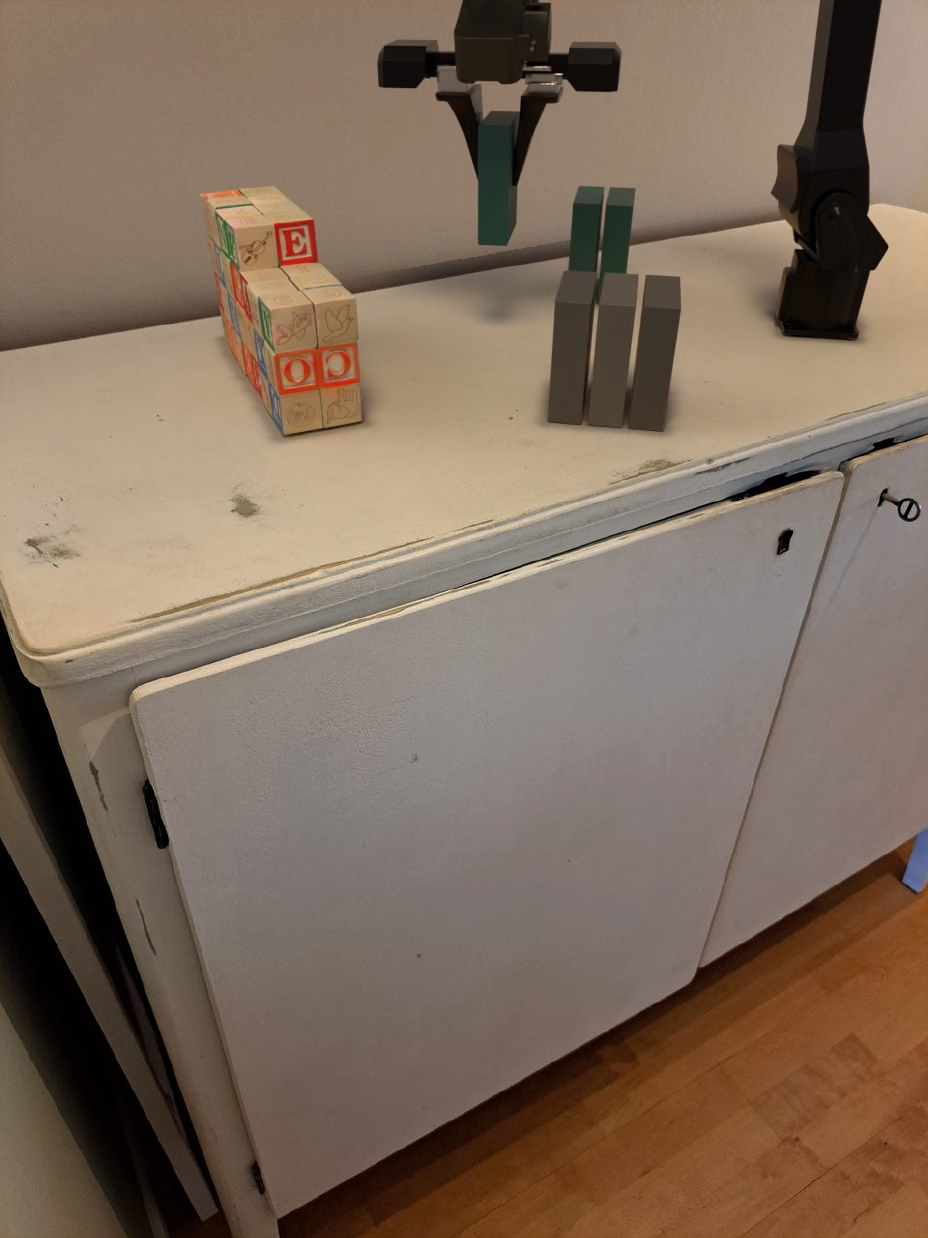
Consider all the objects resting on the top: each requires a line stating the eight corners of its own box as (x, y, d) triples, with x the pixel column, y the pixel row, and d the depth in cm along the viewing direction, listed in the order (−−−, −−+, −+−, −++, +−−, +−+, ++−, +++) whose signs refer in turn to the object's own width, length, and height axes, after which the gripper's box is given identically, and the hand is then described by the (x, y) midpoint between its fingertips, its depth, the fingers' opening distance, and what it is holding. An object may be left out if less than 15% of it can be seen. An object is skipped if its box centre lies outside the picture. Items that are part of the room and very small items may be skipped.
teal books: (625, 282, 93) (635, 187, 87) (622, 305, 88) (633, 205, 82) (572, 279, 94) (578, 185, 88) (566, 301, 88) (572, 203, 83)
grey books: (663, 392, 71) (680, 276, 66) (663, 431, 66) (681, 308, 61) (556, 384, 73) (564, 269, 67) (547, 422, 67) (554, 300, 62)
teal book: (516, 224, 81) (519, 110, 76) (507, 246, 76) (509, 125, 70) (489, 223, 82) (490, 110, 76) (477, 245, 76) (478, 125, 71)
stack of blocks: (365, 423, 67) (353, 250, 59) (282, 438, 65) (259, 262, 57) (291, 328, 82) (274, 182, 75) (223, 338, 81) (198, 189, 73)
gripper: (352, -41, 62) (368, 204, 71) (627, -41, 59) (606, 212, 69) (388, -46, 70) (398, 172, 80) (630, -47, 68) (610, 179, 77)
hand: (498, 184), depth 76 cm, fingers closed on teal book, 2 cm apart
